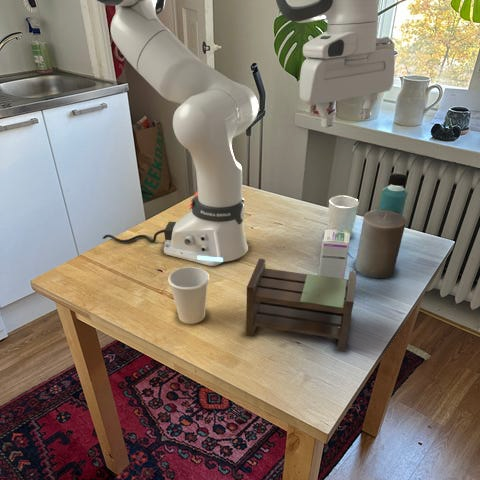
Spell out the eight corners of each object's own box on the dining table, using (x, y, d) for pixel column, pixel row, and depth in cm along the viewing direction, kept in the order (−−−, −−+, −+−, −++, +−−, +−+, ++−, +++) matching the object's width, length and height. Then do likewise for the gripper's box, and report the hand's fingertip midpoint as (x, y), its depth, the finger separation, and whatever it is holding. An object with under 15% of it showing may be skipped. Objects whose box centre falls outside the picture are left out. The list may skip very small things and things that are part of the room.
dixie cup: (168, 309, 100) (163, 270, 94) (204, 301, 102) (202, 263, 96) (178, 331, 94) (173, 291, 88) (216, 322, 96) (214, 283, 90)
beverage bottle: (366, 241, 125) (381, 169, 112) (390, 240, 125) (406, 169, 113) (374, 253, 119) (390, 179, 107) (398, 252, 120) (417, 178, 108)
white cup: (357, 233, 129) (363, 199, 122) (346, 244, 123) (352, 210, 117) (331, 226, 132) (336, 193, 126) (320, 236, 127) (324, 203, 120)
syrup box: (341, 299, 103) (351, 243, 94) (315, 296, 104) (322, 240, 95) (342, 285, 107) (351, 230, 98) (317, 283, 108) (324, 228, 99)
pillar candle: (402, 271, 112) (416, 215, 103) (373, 283, 108) (386, 226, 99) (373, 255, 119) (385, 201, 110) (346, 265, 115) (355, 210, 105)
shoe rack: (245, 335, 93) (246, 287, 85) (257, 304, 101) (259, 258, 94) (344, 351, 89) (353, 302, 82) (347, 318, 97) (356, 271, 90)
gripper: (383, 35, 88) (375, 111, 96) (295, 47, 81) (294, 128, 89) (407, 36, 83) (397, 116, 91) (315, 48, 76) (313, 134, 84)
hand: (345, 122), depth 90 cm, fingers open, 8 cm apart
